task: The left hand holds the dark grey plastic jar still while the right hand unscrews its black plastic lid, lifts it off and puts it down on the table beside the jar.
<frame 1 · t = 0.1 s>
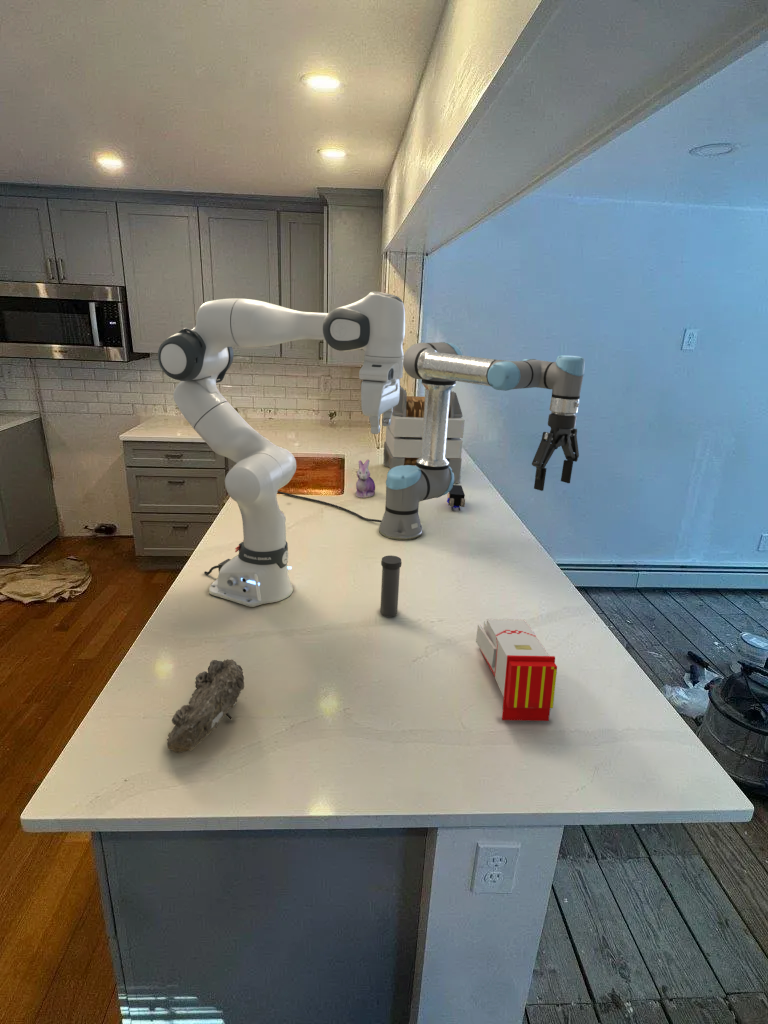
left hand: (380, 429, 133), 48 cm above the counter, tool pointing down, fingers open, 8 cm apart
right hand: (552, 485, 166), 28 cm above the counter, tool pointing down, fingers open, 13 cm apart
jar: (388, 612, 148), on the counter
figurine character: (454, 506, 230), on the counter
grey slatted wooden crate: (419, 473, 275), on the counter
figurine: (365, 495, 240), on the counter
fossil: (212, 717, 108), on the counter
lid: (391, 560, 143), point 15 cm above the counter, screwed on, not yet turned
toy: (508, 678, 123), on the counter
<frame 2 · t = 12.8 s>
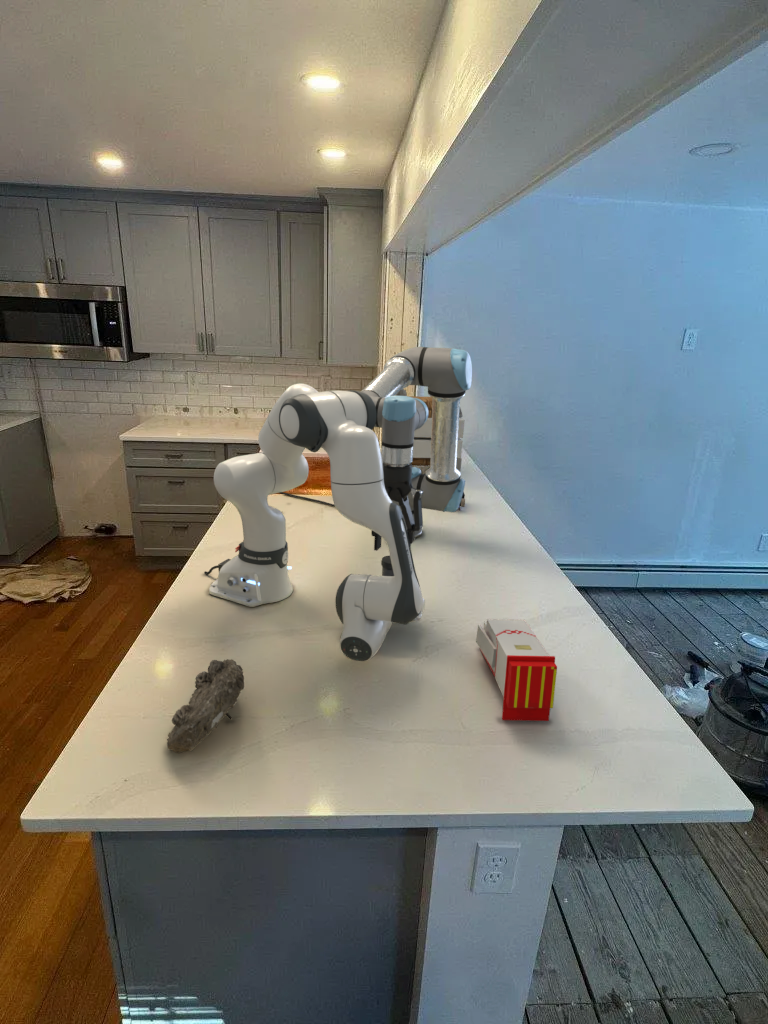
left hand: (390, 588, 147), 7 cm above the counter, tool horizontal, fingers closed on jar, 4 cm apart
right hand: (391, 551, 142), 17 cm above the counter, tool pointing down, fingers open, 7 cm apart
jar: (388, 612, 148), on the counter, touching left hand
everything else where it was.
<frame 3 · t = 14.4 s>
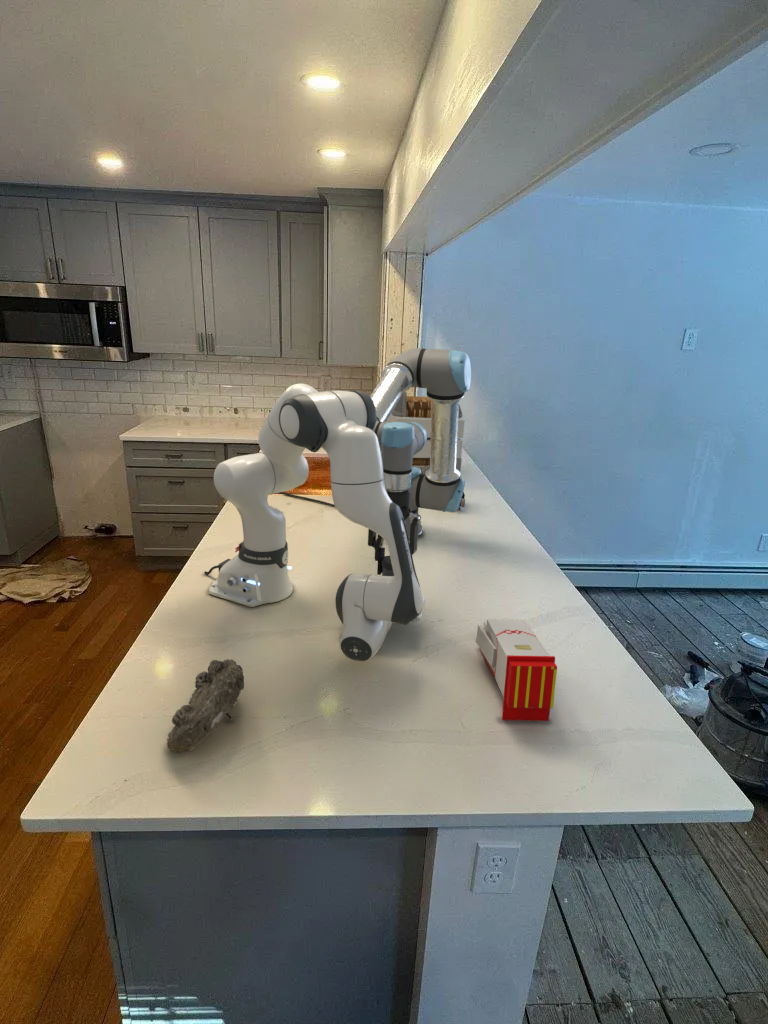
left hand: (390, 588, 147), 7 cm above the counter, tool horizontal, fingers closed on jar, 4 cm apart
right hand: (390, 574, 144), 11 cm above the counter, tool pointing down, fingers closed on lid, 5 cm apart
jar: (388, 612, 148), on the counter, touching left hand
lid: (391, 560, 143), point 15 cm above the counter, screwed on, not yet turned, touching right hand
everything else where it was.
when the right hand's fingers open (11 cm above the counter, at t = 15.8 s): lid stays where it is, point 15 cm above the counter.
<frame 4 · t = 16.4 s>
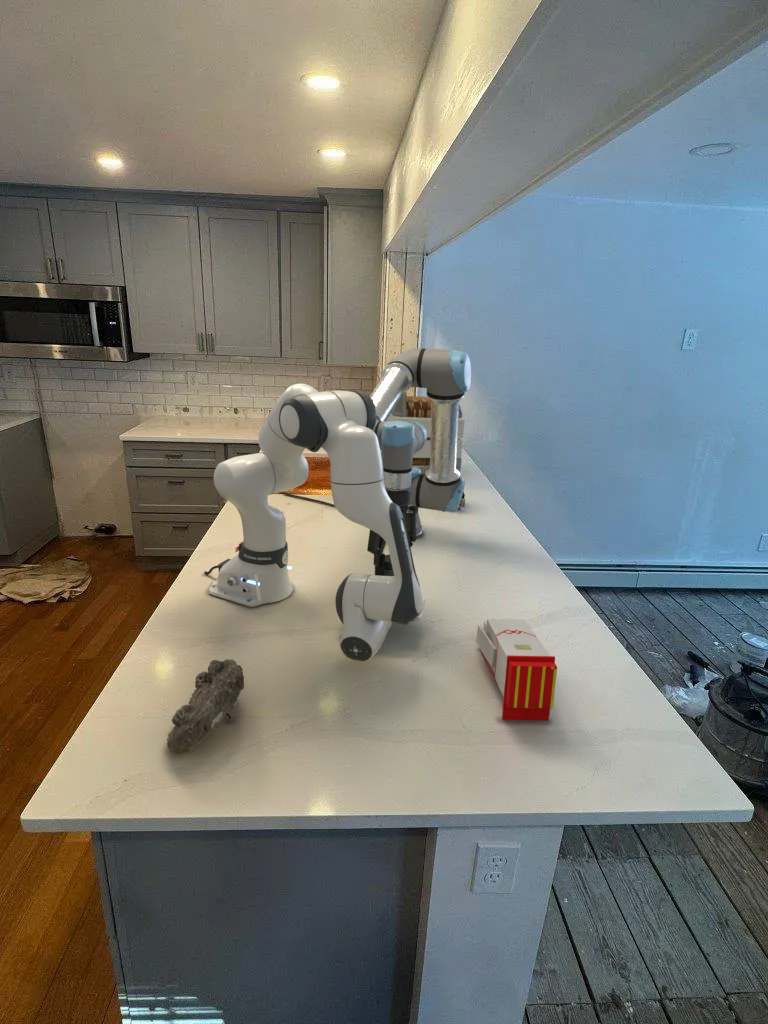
left hand: (390, 588, 147), 7 cm above the counter, tool horizontal, fingers closed on jar, 4 cm apart
right hand: (390, 572, 144), 12 cm above the counter, tool pointing down, fingers open, 7 cm apart
jar: (388, 612, 148), on the counter, touching left hand
lid: (391, 559, 143), point 15 cm above the counter, turned 111° so far, risen 0.3 cm, still on its thread
everything else where it was.
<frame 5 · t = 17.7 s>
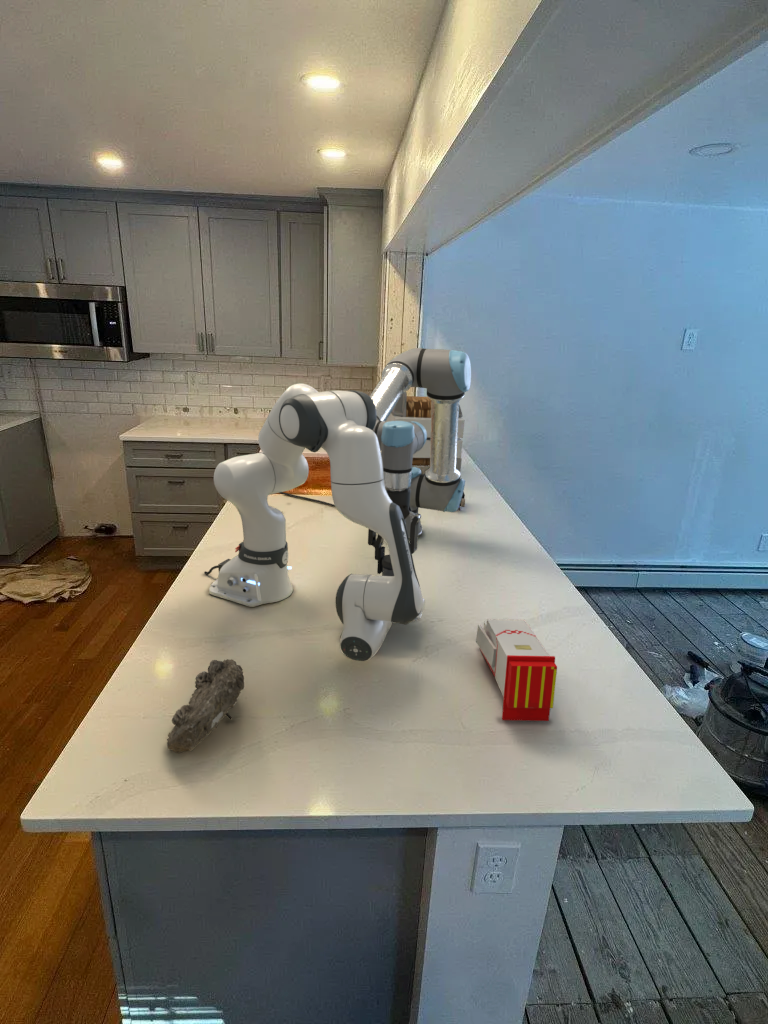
left hand: (390, 588, 147), 7 cm above the counter, tool horizontal, fingers closed on jar, 4 cm apart
right hand: (390, 573, 144), 11 cm above the counter, tool pointing down, fingers closed on lid, 5 cm apart
jar: (388, 612, 148), on the counter, touching left hand
lid: (391, 559, 143), point 15 cm above the counter, turned 111° so far, risen 0.3 cm, still on its thread, touching right hand
everything else where it was.
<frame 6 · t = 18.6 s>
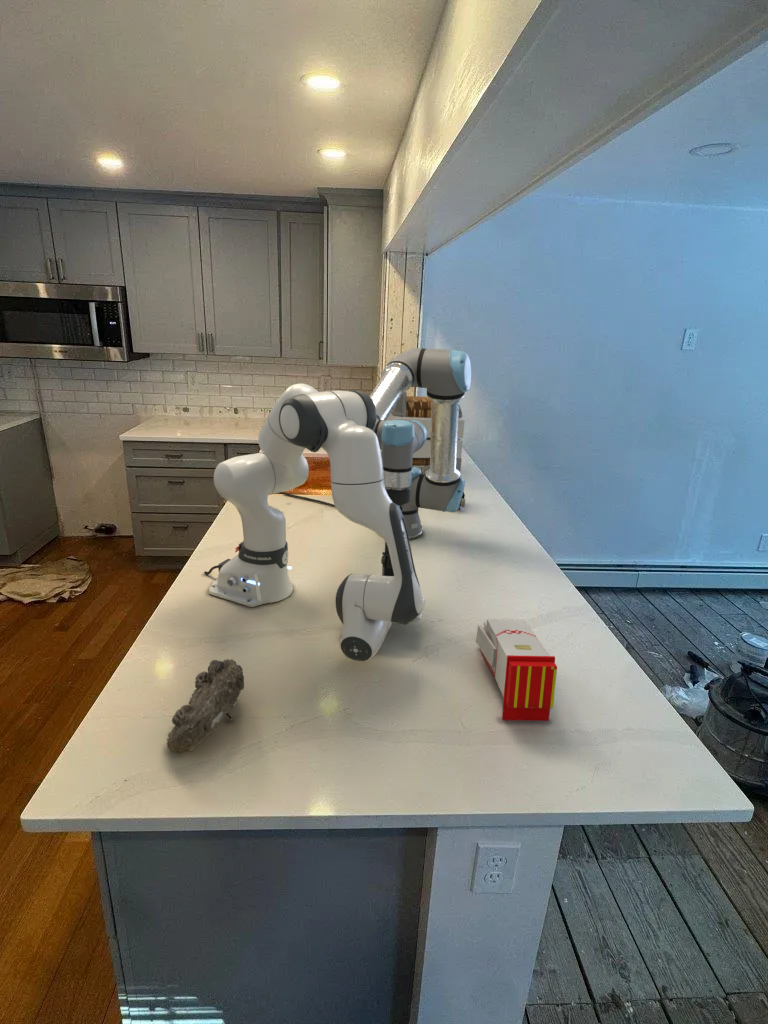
left hand: (390, 588, 147), 7 cm above the counter, tool horizontal, fingers closed on jar, 4 cm apart
right hand: (390, 572, 144), 11 cm above the counter, tool pointing down, fingers closed on lid, 5 cm apart
jar: (388, 612, 148), on the counter, touching left hand
lid: (391, 558, 143), point 15 cm above the counter, off its thread, touching right hand
everything else where it was.
when the right hand's fingers open (0 cm above the counter, at t = 24.5 s): lid stays where it is, point 1 cm above the counter.
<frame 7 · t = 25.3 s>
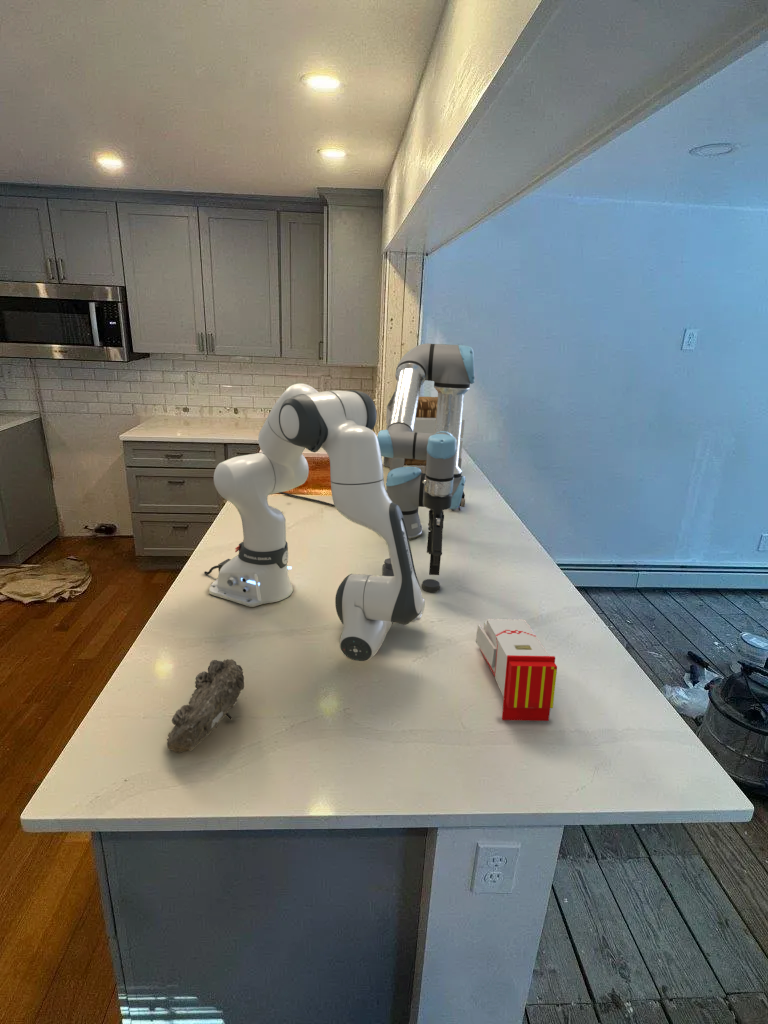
left hand: (390, 588, 147), 7 cm above the counter, tool horizontal, fingers closed on jar, 4 cm apart
right hand: (432, 563, 160), 7 cm above the counter, tool pointing down, fingers open, 13 cm apart
jar: (388, 612, 148), on the counter, touching left hand
lid: (430, 584, 162), point 1 cm above the counter, off its thread
everything else where it was.
when the left hand's fingers open (7 cm above the counter, at t = 25.6 s): jar stays where it is, on the counter.
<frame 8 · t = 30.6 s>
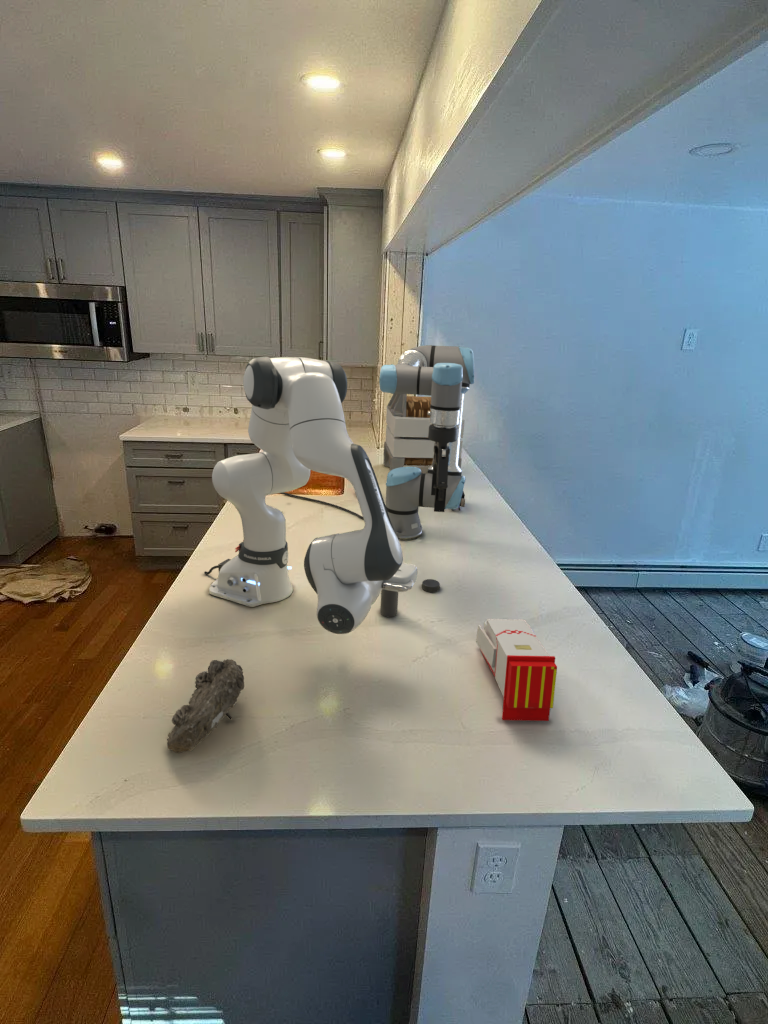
left hand: (379, 557, 130), 21 cm above the counter, tool horizontal, fingers open, 8 cm apart
right hand: (437, 503, 153), 26 cm above the counter, tool pointing down, fingers open, 13 cm apart
jar: (388, 612, 148), on the counter
everything else where it was.
at the end: lid came off its thread; lid point 1.3 cm above the counter; the left hand is holding nothing; the right hand is holding nothing; jar tilted 0°; jar moved 0.1 cm from its start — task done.
